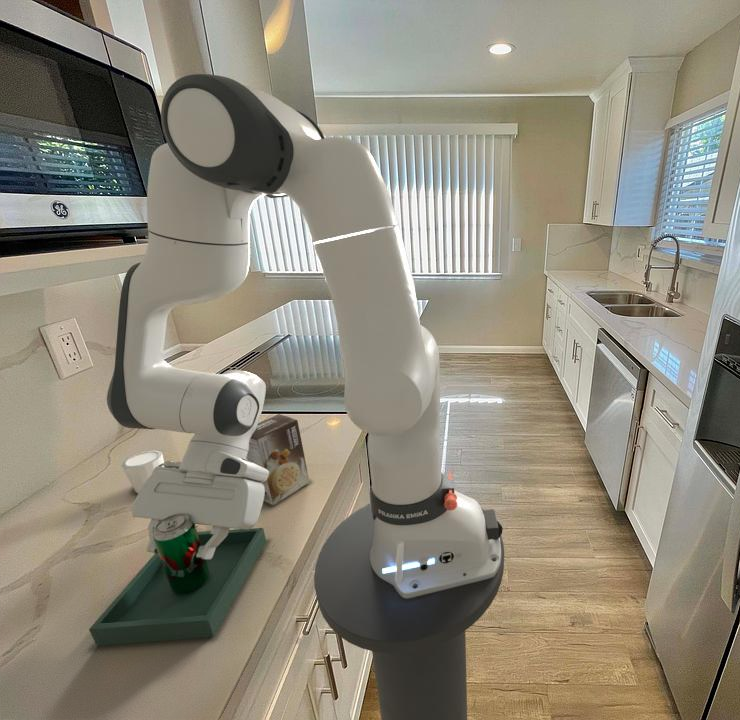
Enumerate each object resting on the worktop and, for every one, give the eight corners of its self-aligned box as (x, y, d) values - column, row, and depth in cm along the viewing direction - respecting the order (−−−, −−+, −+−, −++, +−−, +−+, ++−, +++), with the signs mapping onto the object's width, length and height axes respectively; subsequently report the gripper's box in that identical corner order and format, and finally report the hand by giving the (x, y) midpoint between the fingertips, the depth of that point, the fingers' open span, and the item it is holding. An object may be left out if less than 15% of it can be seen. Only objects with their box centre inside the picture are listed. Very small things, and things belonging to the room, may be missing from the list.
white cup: (173, 485, 88) (164, 458, 86) (133, 499, 83) (123, 471, 81) (167, 472, 93) (159, 446, 90) (129, 485, 88) (119, 458, 86)
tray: (266, 541, 73) (263, 527, 71) (213, 636, 56) (208, 620, 55) (177, 547, 71) (172, 533, 70) (96, 646, 55) (88, 629, 54)
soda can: (210, 564, 67) (192, 507, 63) (210, 586, 63) (191, 526, 59) (173, 578, 64) (152, 519, 60) (171, 602, 60) (148, 540, 56)
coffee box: (292, 474, 92) (280, 412, 86) (310, 482, 89) (299, 419, 83) (254, 496, 84) (238, 430, 79) (272, 507, 81) (257, 439, 76)
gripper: (143, 455, 65) (100, 548, 59) (255, 466, 62) (222, 564, 56) (173, 463, 71) (138, 548, 65) (278, 473, 68) (250, 562, 62)
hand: (178, 555), depth 61 cm, fingers open, 7 cm apart
